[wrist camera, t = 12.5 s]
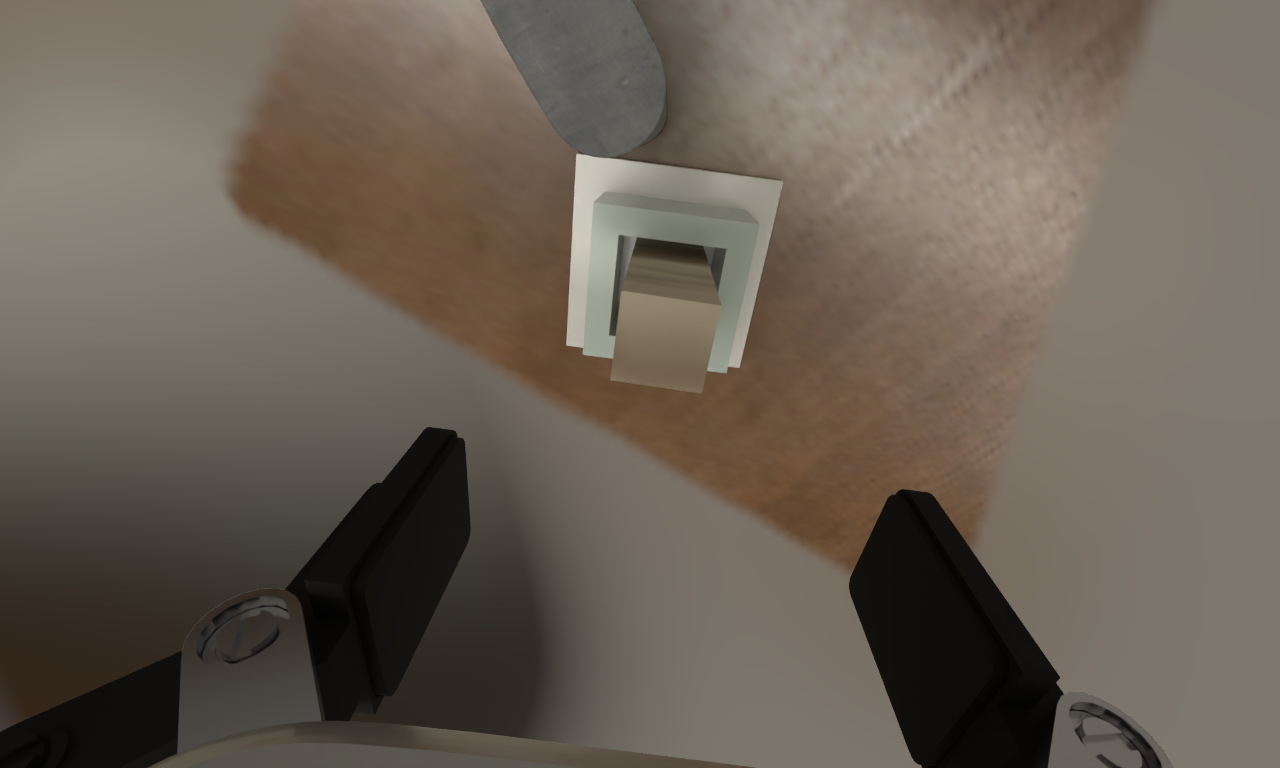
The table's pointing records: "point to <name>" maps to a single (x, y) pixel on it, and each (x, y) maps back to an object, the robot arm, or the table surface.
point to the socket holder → (670, 211)
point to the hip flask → (587, 69)
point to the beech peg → (666, 317)
